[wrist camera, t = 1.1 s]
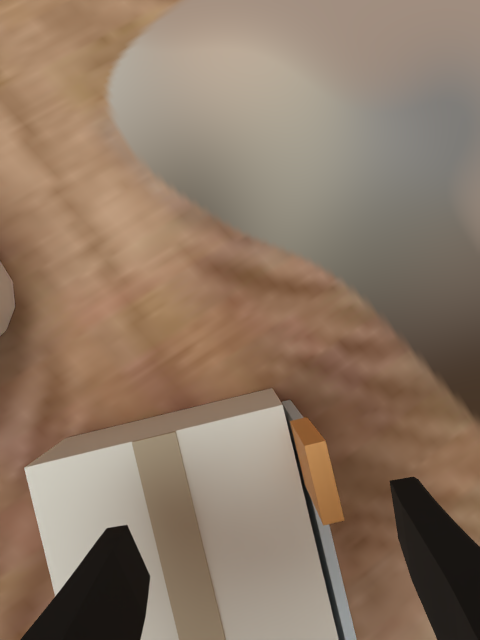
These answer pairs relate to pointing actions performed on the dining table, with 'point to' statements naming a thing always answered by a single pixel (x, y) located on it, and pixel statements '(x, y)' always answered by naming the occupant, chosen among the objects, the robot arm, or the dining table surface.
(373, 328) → the dining table surface
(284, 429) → the carton
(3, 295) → the foam cup
